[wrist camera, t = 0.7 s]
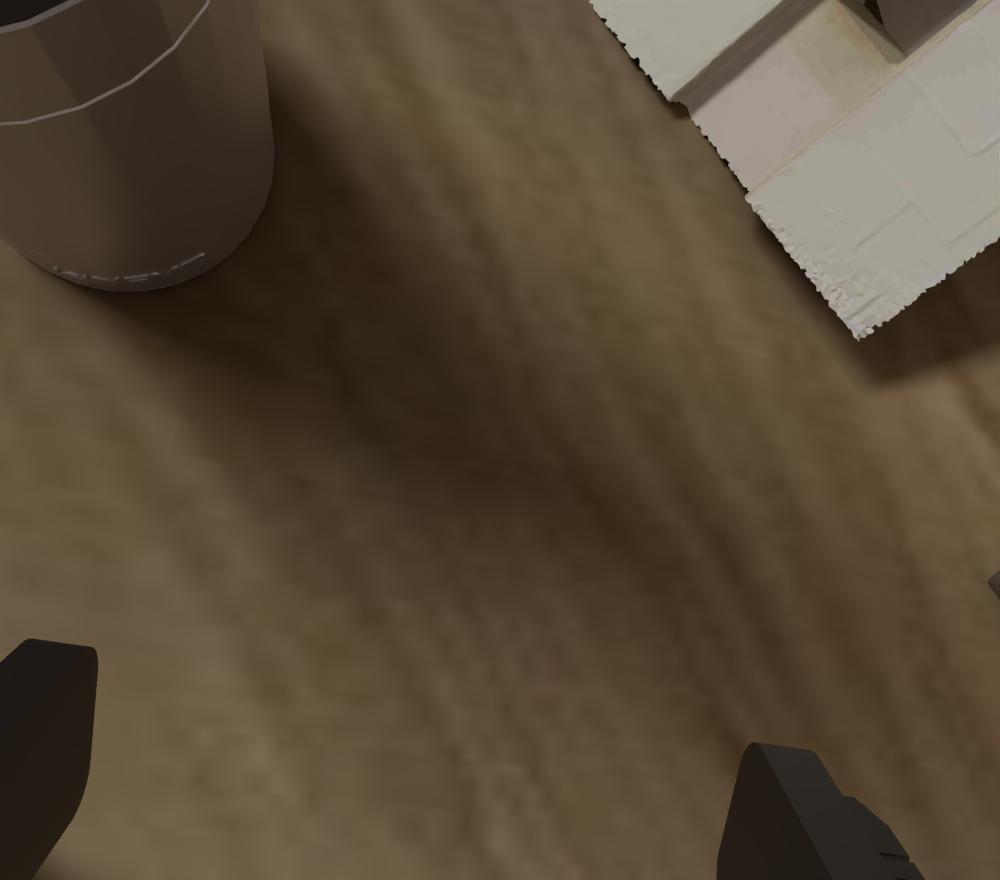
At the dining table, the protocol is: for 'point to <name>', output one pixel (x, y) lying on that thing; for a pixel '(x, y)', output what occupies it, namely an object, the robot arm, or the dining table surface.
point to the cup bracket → (996, 583)
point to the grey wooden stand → (843, 129)
